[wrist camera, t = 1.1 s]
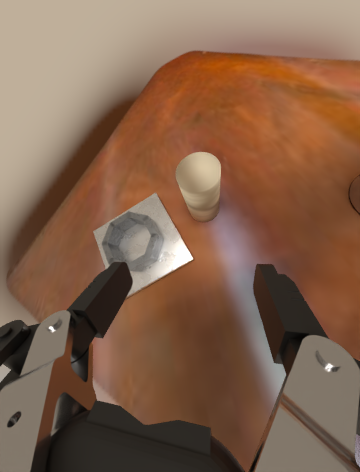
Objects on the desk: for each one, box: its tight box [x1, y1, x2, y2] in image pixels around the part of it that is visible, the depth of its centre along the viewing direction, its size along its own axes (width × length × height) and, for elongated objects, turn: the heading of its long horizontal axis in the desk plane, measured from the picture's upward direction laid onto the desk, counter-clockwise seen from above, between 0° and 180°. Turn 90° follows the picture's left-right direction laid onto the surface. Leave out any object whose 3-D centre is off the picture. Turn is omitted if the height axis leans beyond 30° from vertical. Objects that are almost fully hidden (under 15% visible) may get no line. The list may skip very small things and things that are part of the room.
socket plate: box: [93, 193, 194, 299], centre depth 26 cm, size 14×14×4 cm
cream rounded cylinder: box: [176, 152, 221, 222], centre depth 22 cm, size 5×5×10 cm
